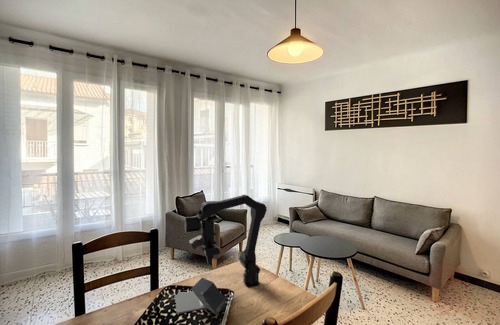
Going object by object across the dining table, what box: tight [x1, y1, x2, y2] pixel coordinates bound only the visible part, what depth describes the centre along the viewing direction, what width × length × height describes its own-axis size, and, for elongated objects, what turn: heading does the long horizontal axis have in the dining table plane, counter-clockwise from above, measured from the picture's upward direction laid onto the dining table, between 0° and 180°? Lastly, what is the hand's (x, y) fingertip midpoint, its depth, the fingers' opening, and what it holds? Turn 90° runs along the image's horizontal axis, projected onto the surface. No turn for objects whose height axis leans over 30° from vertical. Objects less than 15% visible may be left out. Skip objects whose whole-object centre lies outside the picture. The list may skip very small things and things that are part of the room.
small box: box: [190, 277, 228, 316], centre depth 102 cm, size 11×6×10 cm
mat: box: [174, 289, 206, 315], centre depth 111 cm, size 11×16×2 cm
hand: (209, 263), depth 119 cm, fingers closed
